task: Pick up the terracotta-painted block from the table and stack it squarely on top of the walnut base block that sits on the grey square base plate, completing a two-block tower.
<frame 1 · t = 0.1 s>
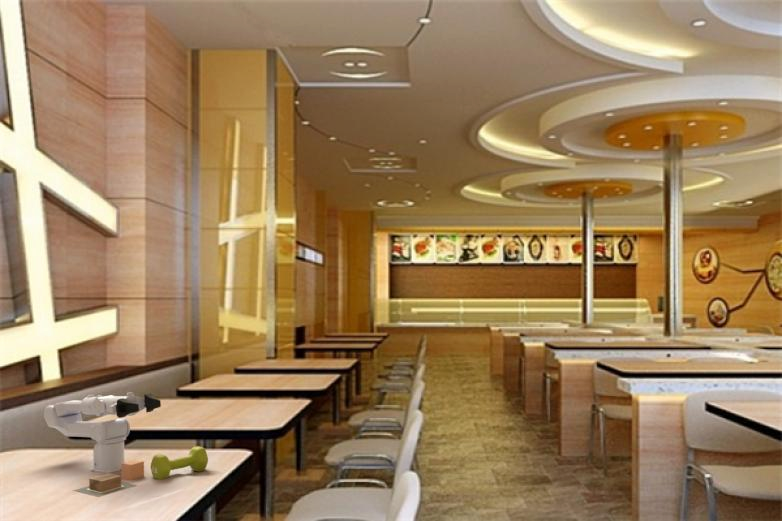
hand: (148, 405, 204), 22 cm above the table, tool horizontal, fingers open, 7 cm apart
base block: (105, 487, 192), point 1 cm above the table, touching grey square base plate
grey square base plate: (105, 490, 192), on the table
dumbbell: (179, 475, 206), on the table
top block: (133, 479, 203), on the table
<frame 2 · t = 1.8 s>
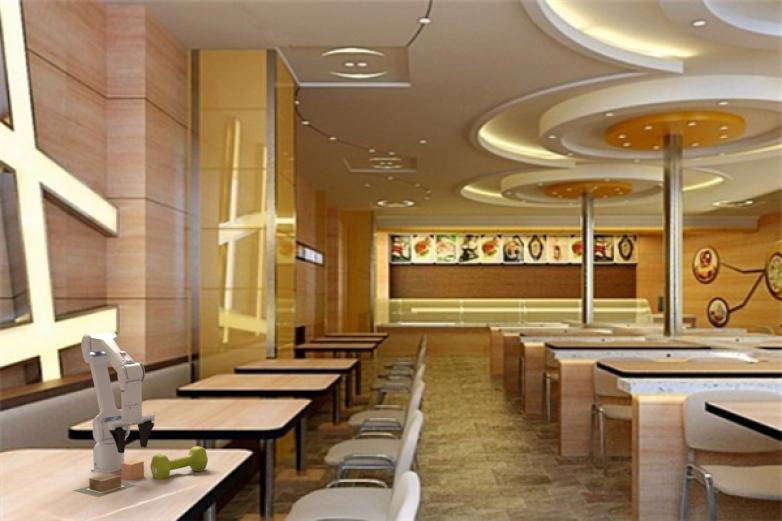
hand: (132, 449, 203), 9 cm above the table, tool pointing down, fingers open, 7 cm apart
nothing on the table moved.
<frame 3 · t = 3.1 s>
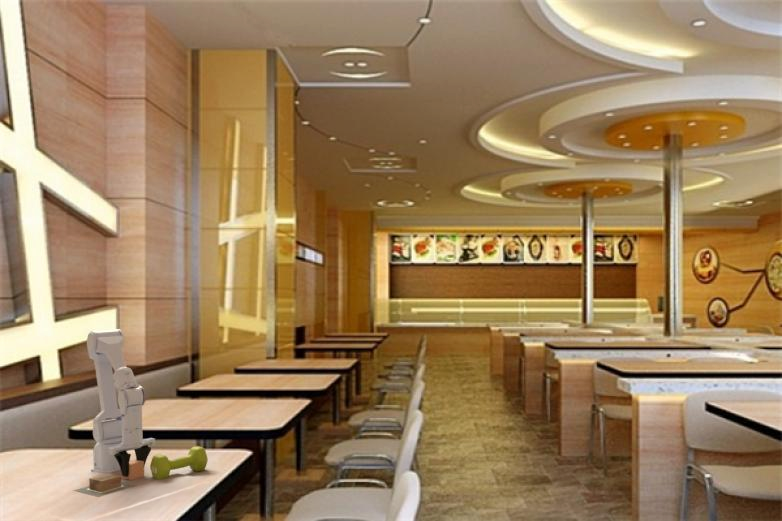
hand: (132, 474, 203), 1 cm above the table, tool pointing down, fingers closed on top block, 4 cm apart
top block: (133, 478, 203), on the table, touching gripper
everything else where it was.
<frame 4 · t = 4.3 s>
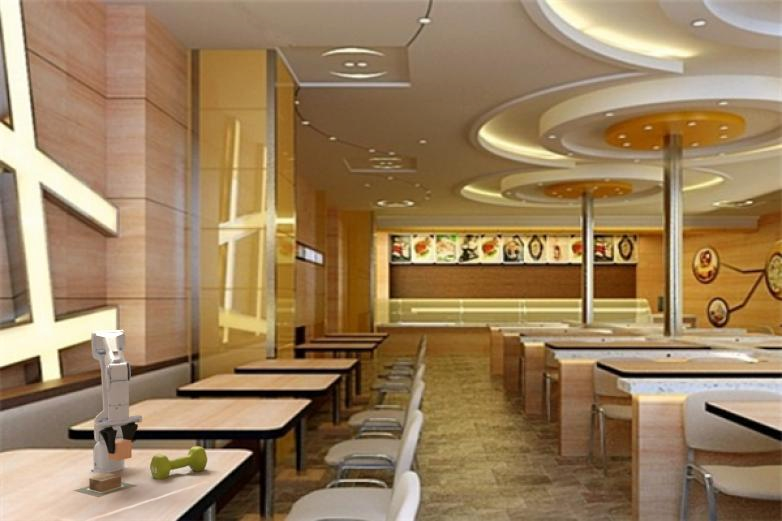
hand: (119, 451, 198), 10 cm above the table, tool pointing down, fingers closed on top block, 4 cm apart
top block: (120, 458, 198), point 8 cm above the table, touching gripper
everything else where it was.
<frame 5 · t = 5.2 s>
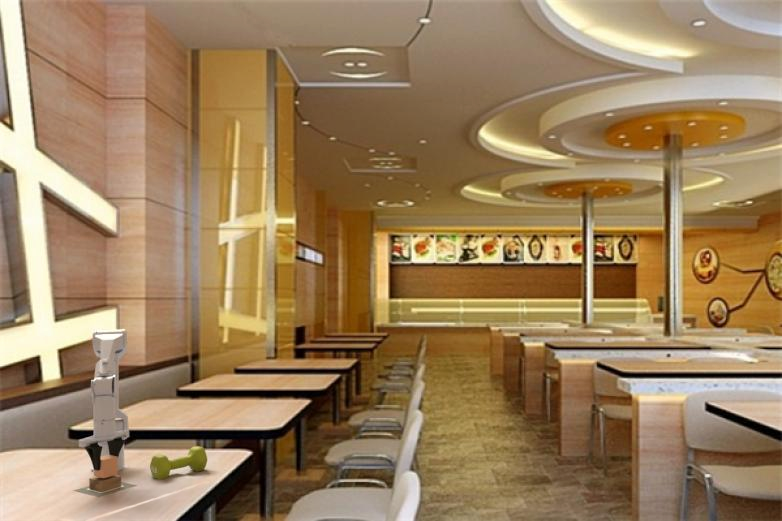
hand: (105, 467, 193), 6 cm above the table, tool pointing down, fingers closed on top block, 4 cm apart
top block: (106, 475, 192), point 4 cm above the table, touching gripper
everything else where it was.
when the fingers open (6 cm above the table, at t = 5.6 s): top block stays where it is, resting on base block.
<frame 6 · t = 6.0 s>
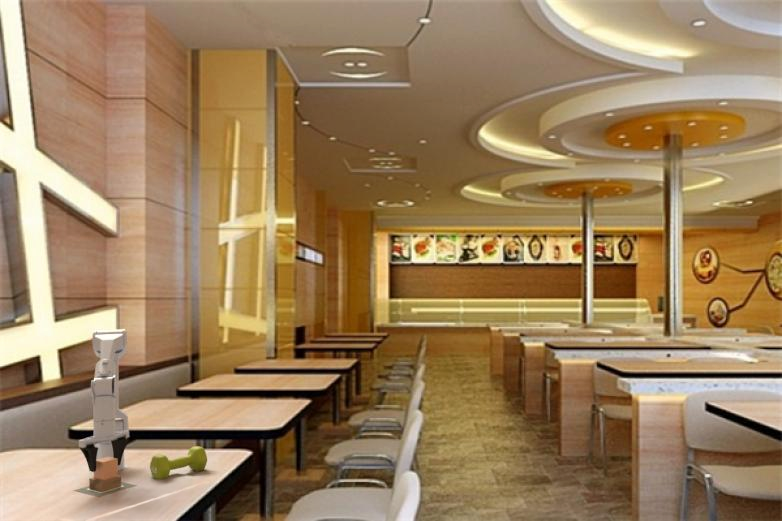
hand: (105, 467, 193), 6 cm above the table, tool pointing down, fingers open, 7 cm apart
base block: (105, 487, 192), point 1 cm above the table, touching grey square base plate, top block
top block: (106, 477, 192), point 4 cm above the table, touching base block
everything else where it was.
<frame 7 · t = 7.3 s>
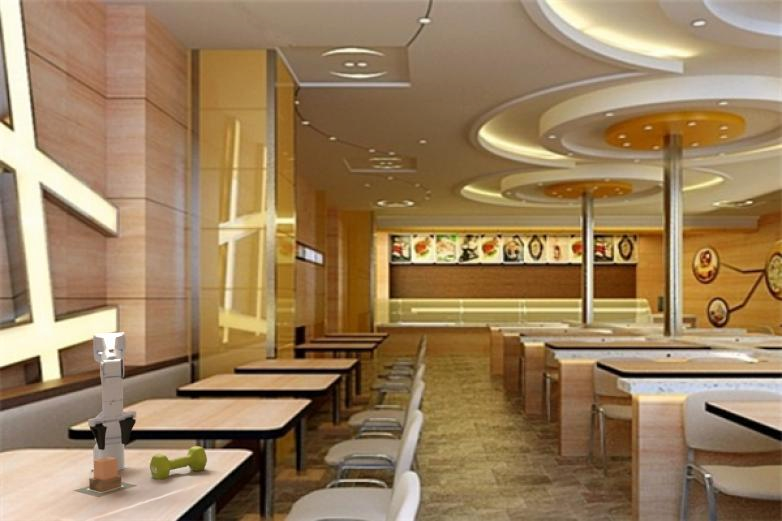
hand: (113, 446, 200), 10 cm above the table, tool pointing down, fingers open, 7 cm apart
nothing on the table moved.
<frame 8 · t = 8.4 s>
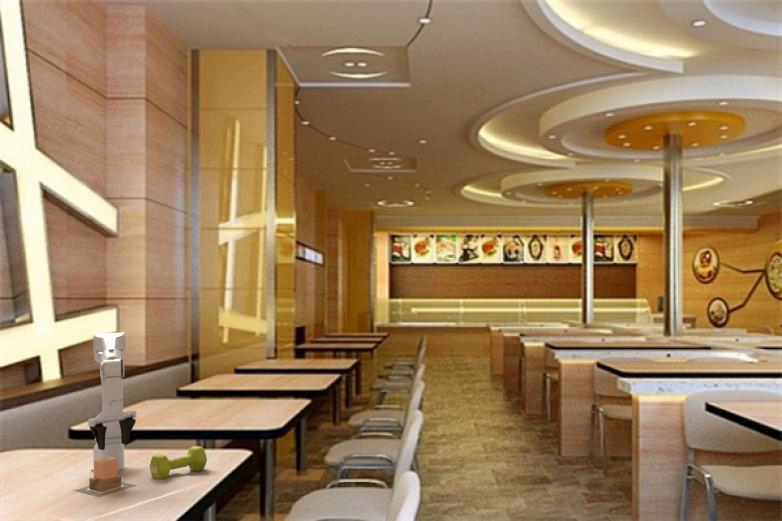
hand: (113, 446, 200), 10 cm above the table, tool pointing down, fingers open, 7 cm apart
nothing on the table moved.
at the end: top block 0.3 cm off-centre on the base block, point 3.0 cm above the base block's base; top block tilted 0°; base block moved 0.1 cm from its start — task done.
